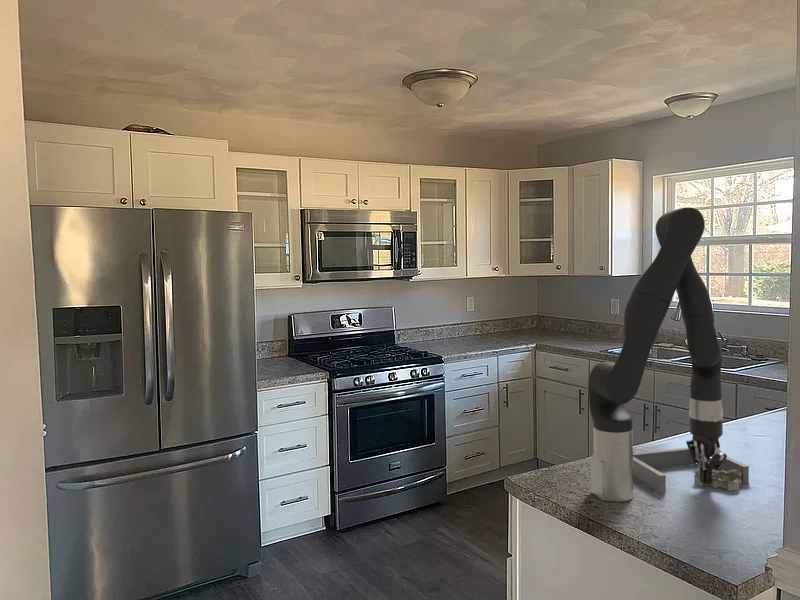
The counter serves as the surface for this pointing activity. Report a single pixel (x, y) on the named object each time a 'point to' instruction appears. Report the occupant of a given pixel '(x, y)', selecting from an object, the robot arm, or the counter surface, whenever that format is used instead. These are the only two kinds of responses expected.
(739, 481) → the egg carton
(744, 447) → the counter surface
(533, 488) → the counter surface
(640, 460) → the box
